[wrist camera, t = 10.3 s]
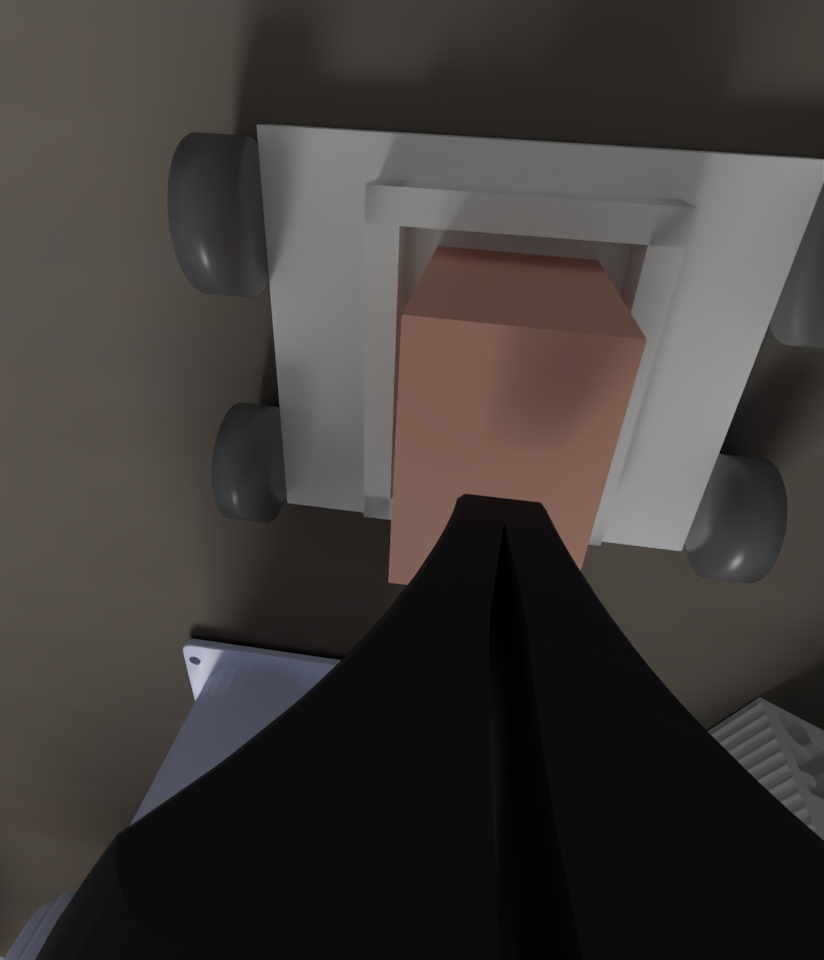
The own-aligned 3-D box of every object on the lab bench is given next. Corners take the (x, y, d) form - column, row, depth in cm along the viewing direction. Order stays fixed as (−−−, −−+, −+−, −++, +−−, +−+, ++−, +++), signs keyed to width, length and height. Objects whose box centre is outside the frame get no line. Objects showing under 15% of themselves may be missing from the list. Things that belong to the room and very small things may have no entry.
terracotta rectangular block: (552, 466, 18) (569, 607, 13) (421, 450, 18) (388, 582, 13) (598, 260, 14) (646, 339, 9) (437, 245, 15) (401, 314, 10)
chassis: (711, 536, 19) (748, 614, 16) (263, 483, 21) (222, 546, 18) (866, 160, 13) (971, 174, 10) (225, 121, 15) (153, 123, 12)
